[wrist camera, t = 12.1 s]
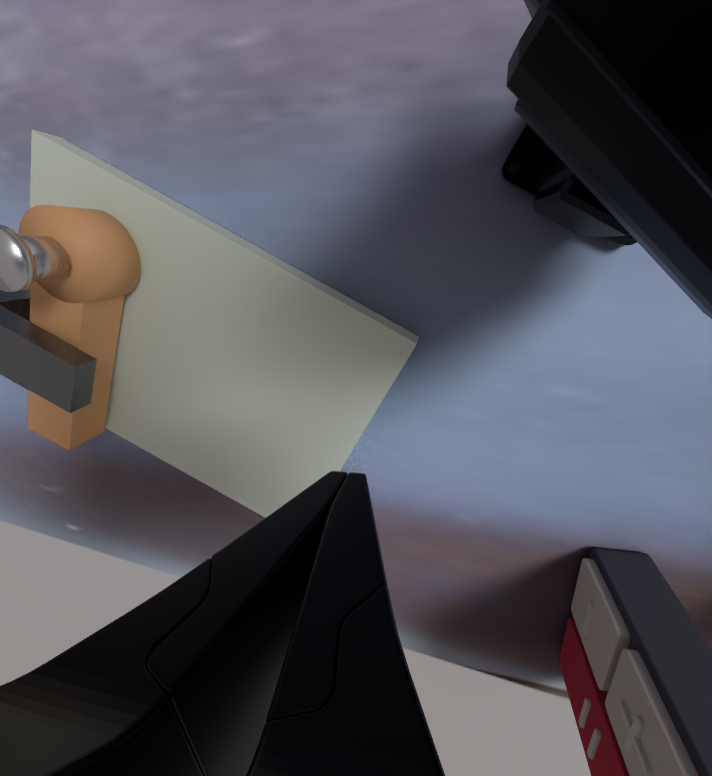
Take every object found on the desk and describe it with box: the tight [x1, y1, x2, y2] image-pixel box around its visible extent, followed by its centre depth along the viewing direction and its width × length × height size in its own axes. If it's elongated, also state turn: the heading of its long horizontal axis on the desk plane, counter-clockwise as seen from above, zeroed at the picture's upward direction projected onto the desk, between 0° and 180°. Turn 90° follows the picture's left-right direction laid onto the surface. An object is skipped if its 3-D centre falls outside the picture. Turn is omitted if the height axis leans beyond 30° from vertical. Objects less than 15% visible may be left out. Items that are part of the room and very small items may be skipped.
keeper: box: [0, 225, 97, 413], centre depth 19 cm, size 8×8×7 cm
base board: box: [30, 130, 419, 518], centre depth 21 cm, size 16×22×2 cm
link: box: [19, 205, 140, 451], centre depth 20 cm, size 14×4×2 cm, turn 154°
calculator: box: [559, 548, 712, 776], centre depth 16 cm, size 11×4×15 cm, turn 4°
